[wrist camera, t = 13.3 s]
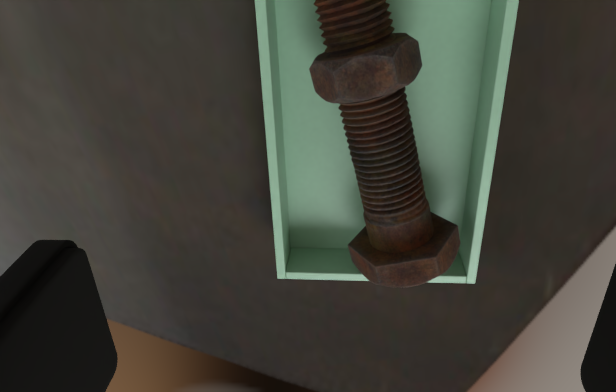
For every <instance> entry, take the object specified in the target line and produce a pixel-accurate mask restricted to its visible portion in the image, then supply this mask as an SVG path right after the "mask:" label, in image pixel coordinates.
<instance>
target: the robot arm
mask: <svg viewBox="0 0 616 392" xmlns="http://www.w3.org/2000/svg"><path fill="white" fill-rule="evenodd" d="M116 367H117V352H116V349H115V346H114V342H113V339H112V336H111V333H110V330H109V326H108V323H107V319H106V316H105V313H104V310H103V306H102V303H101V300H100V297H99V293H98V290H97V287H96V284H95V280H94V277H93V274H92V271H91V267H90V264H89V261H88V257H87V255H86V252H85V251H84V250H83V249H81V248H78V247H77V245H76V244H75V243H74V242H73V241H70V240H39V241H36V242H35V243H33V244H32V245H31V246H30V247H29V248H28V249H27V250H26V251H25V252H24V253H23V254H22V255H21V256H20V257H19V258H18V259H17V260H16V261H15V262H14V263H13V264H12V265H11V266H10V267H9V268H8V269H7V270H6V271H5V272H4V273H3V274H2V276H1V277H0V392H105V391H106V389H107V387H108V385H109V383H110V381H111V379H112V377H113V375H114V373H115V371H116ZM581 380H582V384H583V387H584V389H585V391H586V392H616V264H615V267H614V270H613V273H612V276H611V279H610V282H609V285H608V288H607V291H606V294H605V297H604V300H603V303H602V306H601V309H600V312H599V315H598V318H597V321H596V324H595V327H594V330H593V333H592V336H591V338H590V341H589V344H588V347H587V350H586V354H585V356H584V360H583V362H582V365H581Z"/></svg>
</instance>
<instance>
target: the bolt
mask: <svg viewBox="0 0 616 392" xmlns="http://www.w3.org/2000/svg"><path fill="white" fill-rule="evenodd" d="M314 5H315V6H316V7H318V9H317V10H316V11H315V13H317V14H318V15H320V17H319V18H318V19H317V21H319V22H320V23H322V25H321V26H320V27H319V29H321V30H323V31H324V32H323V33H322V35H321V36H322V37H323V38H325V41H324V42H323V44H324V45H326V46H327V48H326V49H325V52H323V53H321V54H319V55H318V56H317V57H316V58H315V59H314V61H313V63H312V65H311V66H310V68H309V71H310V74H311V78H312V82H313V86H314V89H315V92H316V93H317V94H318V95H319V96H320V97H321V98H322V99H324V100H325V101H327V102H330V103H339V104H341V105H340V106H339V110H341V111H342V112H341V114H340V116H341V117H343V119H342V123H343V124H345V125H344V127H343V129H344V130H345V131H346V133H345V136H346V137H347V138H348V139H347V143H348V144H349V146H348V148H349V150H350V155H351V157H352V159H351V160H352V162H353V166H354V169H355V174H356V179H357V181H358V182H357V184H358V187H359V192H360V197H361V199H362V201H361V202H362V205H363V209H364V213H363V216H364V220H365V224H366V226H365V227H364V228H363V229H362V230H361V231H360V232H359V233H358V234H357V235H356V236H355V238H354V239H353V240H352V241H351V242H350V243H349V244H348V248H349V252H350V256H351V259H352V262H353V263H354V265H355V266H356V267H357V269H358V270H359V271H360V272H361V273H362V274H363V275H364V276H365V277H366V278H367V279H368V280H369V281H370V282H372V283H374V284H377V285H382V286H388V287H397V288H406V287H413V286H418V285H420V284H423V283H426V282H428V281H430V280H432V279H434V278H436V277H438V276H440V275H442V274H443V273H445V272H446V271H447V270H448V269H449V268H450V266H451V265H452V263H453V262H454V260H455V258H456V255H457V253H458V250H459V246H460V236H459V230H458V225H456V224H454V223H452V222H450V221H448V220H446V219H444V218H442V217H440V216H438V215H436V214H434V213H432V212H431V211H430V206H429V202H428V200H427V199H426V195H425V191H424V185H423V179H422V173H421V168H420V166H419V164H420V161H419V159H418V153H417V147H416V141H415V140H414V139H415V136H414V134H413V132H414V130H413V127H412V121H411V120H410V119H411V115H410V114H409V111H410V109H409V108H408V101H407V100H406V98H407V95H406V93H404V92H405V90H406V88H405V86H408V85H409V84H410V83H412V82H413V81H414V80H415V79H416V77H417V75H418V73H419V71H420V69H421V67H422V60H421V54H420V49H419V43H418V41H417V40H416V39H414V38H413V37H411V36H409V35H408V34H407V33H392V32H393V31H394V29H395V28H394V27H392V26H390V25H391V24H392V22H393V20H392V19H390V18H389V16H390V15H391V13H392V12H390V11H387V9H388V7H389V6H390V4H388V3H386V0H316V1H315V2H314Z"/></svg>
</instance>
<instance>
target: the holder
mask: <svg viewBox="0 0 616 392" xmlns="http://www.w3.org/2000/svg"><path fill="white" fill-rule="evenodd" d="M315 1H316V0H255V10H256V22H257V35H258V47H259V59H260V71H261V84H262V96H263V108H264V120H265V132H266V145H267V157H268V169H269V181H270V194H271V206H272V218H273V230H274V242H275V255H276V267H277V278H278V279H315V280H355V281H369V280H368V279H367V278H366V277H365V276H364V275H363V274H362V273H361V272H360V271H359V270H358V269H357V267H356V266H355V265H354V263H353V262H352V259H351V256H350V252H349V248H348V244H349V243H350V242H351V241H352V240H353V239H354V238H355V236H356V235H357V234H358V233H359V232H360V231H361V230H362V229H363V228H364V227H365V226H366V224H365V220H364V216H363V213H364V209H363V205H362V202H361V201H362V199H361V197H360V192H359V187H358V184H357V182H358V181H357V179H356V174H355V169H354V166H353V162H352V160H351V159H352V157H351V155H350V150H349V148H348V146H349V144H348V143H347V139H348V138H347V137H346V136H345V133H346V131H345V130H344V129H343V127H344V125H345V124H343V123H342V119H343V117H341V116H340V114H341V112H342V111H341V110H339V106H340V105H341V104H339V103H330V102H327V101H325V100H324V99H322V98H321V97H320V96H319V95H318V94H317V93H316V92H315V89H314V86H313V82H312V78H311V74H310V71H309V68H310V66H311V65H312V63H313V61H314V59H315V58H316V57H317V56H318V55H319V54H321V53H323V52H325V49H326V48H327V46H326V45H324V44H323V42H324V41H325V38H323V37H322V36H321V35H322V33H323V32H324V31H323V30H321V29H319V27H320V26H321V25H322V23H320V22H319V21H317V19H318V18H319V17H320V15H318V14H317V13H315V11H316V10H317V9H318V7H316V6H315V5H314V2H315ZM386 3H388V4H390V6H389V7H388V9H387V11H390V12H392V13H391V15H390V16H389V18H390V19H392V20H393V22H392V24H391V25H390V26H392V27H394V28H395V29H394V31H393V32H392V33H407V34H408V35H409V36H411V37H413V38H414V39H416V40H417V41H418V43H419V49H420V54H421V60H422V67H421V69H420V71H419V73H418V75H417V77H416V79H415V80H414V81H413V82H412V83H410V84H409V85H408V86H405V88H406V90H405V92H404V93H406V95H407V98H406V100H407V101H408V108H409V109H410V111H409V114H410V115H411V119H410V120H411V121H412V127H413V130H414V132H413V134H414V136H415V139H414V140H415V141H416V147H417V153H418V159H419V161H420V164H419V166H420V168H421V173H422V179H423V185H424V191H425V195H426V199H427V200H428V202H429V206H430V211H431V212H432V213H434V214H436V215H438V216H440V217H442V218H444V219H446V220H448V221H450V222H452V223H454V224H456V225H458V230H459V236H460V246H459V250H458V253H457V255H456V258H455V260H454V262H453V263H452V265H451V266H450V268H449V269H448V270H447V271H446V272H445V273H443V274H442V275H440V276H438V277H436V278H434V279H432V280H430V281H428V282H436V283H475V281H476V275H477V268H478V262H479V256H480V249H481V243H482V236H483V230H484V223H485V217H486V210H487V204H488V197H489V191H490V184H491V178H492V172H493V165H494V159H495V152H496V146H497V139H498V133H499V126H500V120H501V113H502V107H503V101H504V94H505V88H506V81H507V75H508V68H509V62H510V55H511V49H512V42H513V36H514V29H515V23H516V17H517V10H518V4H519V0H386Z"/></svg>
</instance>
